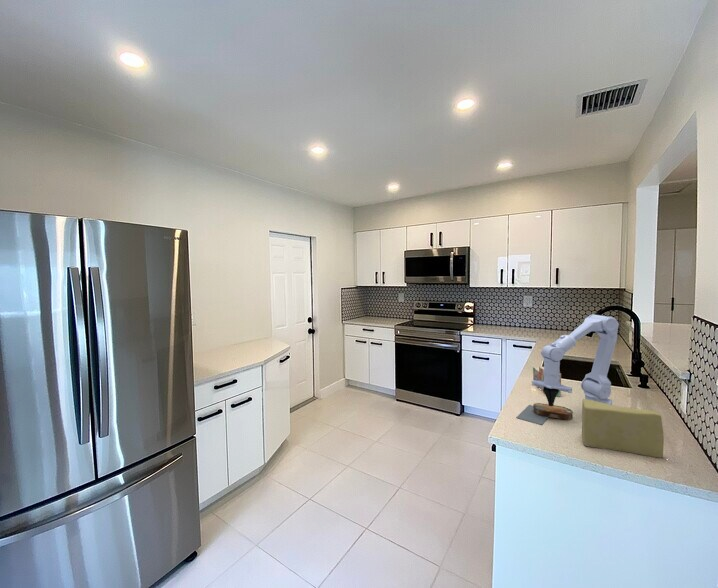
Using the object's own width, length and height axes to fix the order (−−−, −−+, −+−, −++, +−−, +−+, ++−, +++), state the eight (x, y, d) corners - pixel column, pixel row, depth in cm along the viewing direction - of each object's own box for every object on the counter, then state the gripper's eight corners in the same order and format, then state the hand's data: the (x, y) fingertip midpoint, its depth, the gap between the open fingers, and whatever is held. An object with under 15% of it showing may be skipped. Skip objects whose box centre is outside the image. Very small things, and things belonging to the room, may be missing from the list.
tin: (534, 409, 138) (532, 400, 146) (534, 416, 139) (531, 407, 146) (575, 415, 132) (570, 406, 140) (574, 422, 133) (569, 413, 141)
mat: (553, 411, 143) (553, 410, 143) (542, 425, 130) (542, 424, 130) (528, 405, 150) (529, 404, 150) (516, 418, 137) (516, 417, 137)
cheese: (658, 450, 110) (660, 408, 110) (667, 464, 102) (668, 419, 101) (581, 434, 122) (582, 396, 121) (583, 446, 114) (584, 405, 113)
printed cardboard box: (532, 382, 181) (533, 361, 180) (544, 383, 180) (545, 362, 179) (547, 396, 160) (547, 373, 159) (560, 397, 159) (561, 373, 158)
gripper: (530, 372, 137) (529, 403, 137) (569, 380, 127) (569, 413, 127) (534, 369, 142) (534, 398, 142) (573, 375, 132) (572, 407, 132)
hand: (551, 405), depth 135 cm, fingers closed
